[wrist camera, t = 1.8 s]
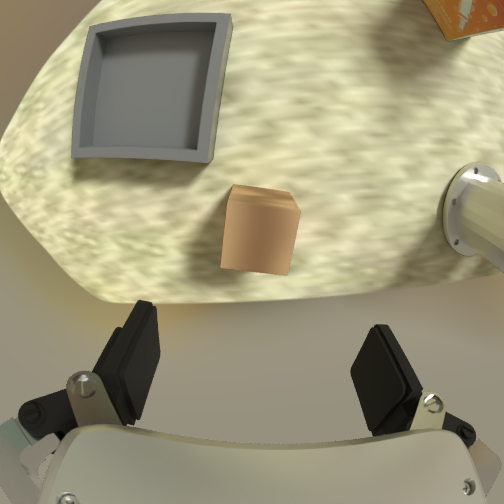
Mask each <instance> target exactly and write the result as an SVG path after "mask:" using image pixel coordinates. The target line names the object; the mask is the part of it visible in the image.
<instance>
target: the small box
mask: <svg viewBox="0 0 504 504" xmlns="http://www.w3.org/2000/svg"><path fill="white" fill-rule="evenodd" d="M423 2H424V3H425V5H426V6H427V8H428V9H429V11H430V12H431V14H432V15H433V17H434V18H435V20H436V22H437V23H438V25H439V27H440V29H441V30H442V32H443V34H444V36H445V38H446V40H447V41H452V40H457V39H462V38H467V37H473V36H478V35H482V34H487V33H493V32H498V31H503V30H504V0H423Z"/></svg>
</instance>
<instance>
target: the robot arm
mask: <svg viewBox="0 0 504 504" xmlns="http://www.w3.org/2000/svg"><path fill="white" fill-rule="evenodd" d="M443 228H444V232H445V236H446V239H447V241H448V243H449V244H450V246H451V247H452V248H453V249H454V250H455V251H457V252H458V253H460V254H462V255H465V256H472V255H475V254H478V253H479V254H480V255H481V256H483V257H484V258H485V259H487V260H488V261H489V262H491V263H492V264H493V265H494V266H496V267H497V268H498V269H499V270H501V271H502V272H503V273H504V183H502V182H501V179H500V177H499V175H498V174H497V172H496V171H495V170H494V169H493V168H492V167H491V166H489V165H487V164H484V163H479V162H475V163H471V164H468V165H466V166H465V167H464V168H462V169H461V170H460V171H459V172H458V174H457V175H456V176H455V178H454V179H453V181H452V183H451V185H450V187H449V189H448V192H447V195H446V199H445V203H444V209H443ZM159 359H160V344H159V333H158V321H157V309H156V306H153V305H152V302H148V301H142V300H138V301H137V303H136V305H135V307H134V308H133V310H132V312H131V314H130V316H129V317H128V319H127V321H126V322H125V324H124V326H123V328H121V327H117V328H116V329H115V330H114V332H113V335H112V336H111V337H110V339H109V341H108V343H107V345H106V346H105V348H104V350H103V352H102V354H101V356H100V357H99V359H98V361H97V363H96V365H95V367H94V369H93V371H92V372H90V371H79V372H77V373H74V374H73V375H72V376H70V378H69V379H68V381H67V384H66V389H64V390H61V391H58V392H55V393H52V394H49V395H46V396H43V397H39V398H36V399H33V400H30V401H28V402H26V403H24V404H23V405H22V406H21V408H20V409H19V413H18V417H17V418H16V419H14V418H13V417H12V418H10V419H9V420H7V421H6V422H4V423H3V424H2V425H1V426H0V486H1V487H2V489H3V490H4V492H5V494H6V495H7V497H8V498H9V499H10V501H11V502H12V504H487V501H486V496H487V494H488V492H489V490H490V489H491V487H492V485H493V483H494V481H495V480H496V478H497V476H498V474H499V472H500V470H501V460H500V458H499V457H498V456H497V455H496V454H495V453H494V452H493V451H492V450H491V449H490V448H489V447H488V446H487V445H485V444H484V443H483V442H482V441H481V440H480V439H477V440H476V432H475V430H474V428H473V427H472V426H471V425H470V424H468V423H467V422H465V421H463V420H461V419H459V418H457V417H455V416H453V415H451V414H449V413H447V412H446V404H445V401H444V400H443V398H442V397H441V396H440V395H438V394H437V393H434V392H426V393H424V394H422V392H421V391H422V390H423V388H422V386H421V384H420V382H419V380H418V378H417V376H416V374H415V372H414V370H413V368H412V367H411V365H410V363H409V361H408V359H407V357H406V356H405V354H404V352H403V350H402V349H401V347H400V345H399V343H398V341H397V340H396V338H395V336H394V334H393V333H392V331H391V329H390V328H389V326H388V325H383V324H378V325H377V324H376V325H375V326H374V327H372V328H371V329H370V331H369V333H368V335H367V337H366V339H365V341H364V343H363V346H362V347H361V349H360V351H359V353H358V355H357V358H356V359H355V361H354V363H353V365H352V367H351V371H350V372H351V377H352V380H353V383H354V386H355V389H356V392H357V395H358V398H359V401H360V404H361V408H362V411H363V414H364V417H365V420H366V424H367V427H368V429H369V431H371V432H372V435H373V437H368V438H361V439H353V440H344V441H334V442H322V443H303V444H302V443H301V444H261V443H240V442H226V441H217V440H208V439H200V438H193V437H186V436H179V435H173V434H167V433H162V432H157V431H152V430H146V429H141V428H136V427H129V426H127V424H130V425H134V424H135V421H136V419H137V420H140V418H141V415H142V412H143V408H144V405H145V402H146V399H147V396H148V392H149V389H150V386H151V383H152V380H153V377H154V374H155V371H156V368H157V365H158V362H159ZM49 454H54V455H53V457H52V459H51V462H50V464H49V466H48V469H47V472H46V475H45V477H44V480H43V483H42V482H41V480H40V478H39V477H38V468H39V466H40V465H41V463H43V462H44V461H45V460H46V459H45V457H46V456H48V455H49Z"/></svg>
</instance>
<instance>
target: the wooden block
mask: <svg viewBox="0 0 504 504" xmlns="http://www.w3.org/2000/svg"><path fill="white" fill-rule="evenodd" d="M300 214H301V211H300V209H299V208H298V206H297V204H296V203H295V201H294V199H293V198H292V196H291V194H290V193H289V192H285V191H279V190H272V189H265V188H258V187H251V186H243V185H235V184H233V187H232V190H231V193H230V196H229V199H228V202H227V210H226V219H225V228H224V238H223V247H222V257H221V267H220V268H226V269H234V270H242V271H250V272H259V273H267V274H276V275H284V276H287V275H288V271H289V266H290V262H291V257H292V253H293V248H294V243H295V238H296V234H297V229H298V224H299V219H300Z"/></svg>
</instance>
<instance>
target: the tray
mask: <svg viewBox="0 0 504 504" xmlns="http://www.w3.org/2000/svg"><path fill="white" fill-rule="evenodd" d="M232 31H233V23H232V18H231V14H225V13H178V14H163V15H152V16H143V17H136V18H129V19H123V20H117V21H112V22H107V23H102V24H97V25H93V26H90V27H89V31H88V35H87V38H86V43H85V47H84V51H83V56H82V61H81V66H80V72H79V77H78V84H77V91H76V98H75V107H74V117H73V129H72V150H71V158H140V159H160V160H176V161H189V162H200V163H209V162H210V161H211V160H213V156H214V148H215V140H216V132H217V124H218V117H219V110H220V103H221V96H222V89H223V83H224V77H225V70H226V64H227V59H228V53H229V47H230V42H231V36H232Z"/></svg>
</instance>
